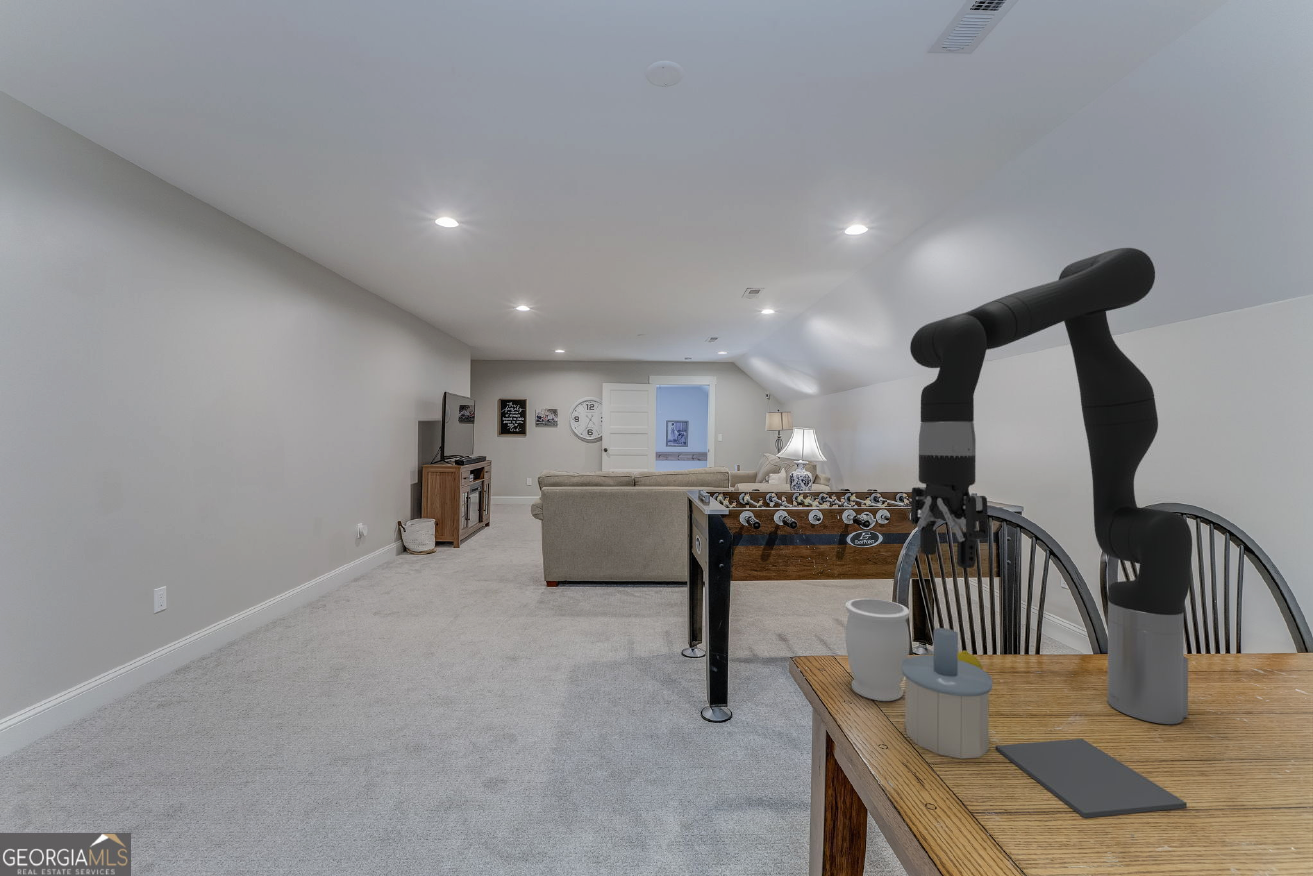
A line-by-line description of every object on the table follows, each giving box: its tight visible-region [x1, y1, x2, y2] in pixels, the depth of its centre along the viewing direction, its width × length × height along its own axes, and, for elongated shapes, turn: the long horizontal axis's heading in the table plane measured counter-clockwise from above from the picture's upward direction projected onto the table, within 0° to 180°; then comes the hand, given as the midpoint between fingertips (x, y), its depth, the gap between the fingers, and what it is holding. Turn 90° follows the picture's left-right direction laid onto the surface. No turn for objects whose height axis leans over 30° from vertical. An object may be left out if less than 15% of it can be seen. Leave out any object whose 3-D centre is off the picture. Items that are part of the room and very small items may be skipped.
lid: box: [902, 627, 994, 696], centre depth 81 cm, size 12×12×7 cm
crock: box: [904, 677, 990, 760], centre depth 81 cm, size 11×11×9 cm
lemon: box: [958, 650, 983, 670], centre depth 94 cm, size 6×6×8 cm
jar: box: [845, 598, 910, 702], centre depth 96 cm, size 11×10×15 cm
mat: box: [995, 738, 1188, 819], centre depth 72 cm, size 14×14×1 cm
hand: (946, 560), depth 81 cm, fingers open, 8 cm apart
